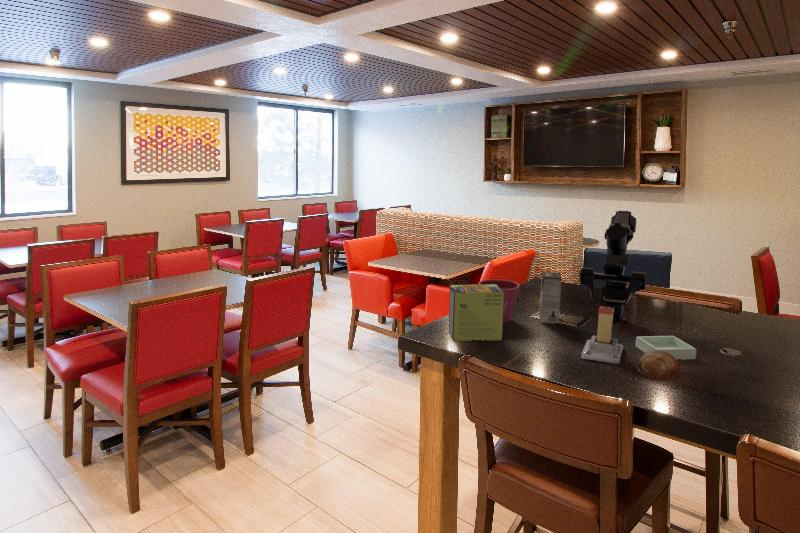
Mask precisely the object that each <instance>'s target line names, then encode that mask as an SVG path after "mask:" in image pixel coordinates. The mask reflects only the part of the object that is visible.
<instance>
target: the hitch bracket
mask: <svg viewBox="0 0 800 533" xmlns="http://www.w3.org/2000/svg"><path fill="white" fill-rule="evenodd" d="M618 340H619V339H618V338H614V337H611V344H605V343H598V342H597V335H591V338H590V339H586V342H585V344H584V347H583V349H582V351H581V357H580V359H582V360H591V361H596V362H603V363H609V364H617V365H620V362H621V358H622V357H621V356H622V353H623V348H624V344H621V343H618Z"/></svg>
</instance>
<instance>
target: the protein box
mask: <svg viewBox="0 0 800 533" xmlns="http://www.w3.org/2000/svg"><path fill="white" fill-rule="evenodd" d="M448 299H449V300H448V301H449V303H448V304H449V309H448V311H449V312H448V333H449V334H450V336H451V338H452V340H453V341H454V342H466V341H467V342H469V341H470V342H471V341H472V340H475V341H474V342H476V341H477V340H479V342H480V340H481V342H482V341H483V342H484V341H485V340H487V341H502V340H503V325H504V323H503V303H504V292H503V291H502V290H501V289H500V288H499V287H498V286H497V285H496V284H488V285H479V284H451V285H449V298H448ZM472 342H473V341H472Z"/></svg>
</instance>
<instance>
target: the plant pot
mask: <svg viewBox="0 0 800 533" xmlns="http://www.w3.org/2000/svg"><path fill="white" fill-rule="evenodd" d="M488 284H496V285H497V286H498V287H499V288H500V289H501V290H502V291H503V292H504V303H503V324H505V323H509V322H511V319H512V315H513V312H514V308H515V306H516V302H517V298H518V297H519V296H520V292H521V291H520V289H521V286H520V284H519V283H518V282H516V281H513V280H508V279H497V278H496V279H495V278H494V279H492V278H491V279H490V278H489V279H483V280H481V281H479V282H478V285H488Z"/></svg>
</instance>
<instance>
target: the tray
mask: <svg viewBox="0 0 800 533" xmlns="http://www.w3.org/2000/svg"><path fill="white" fill-rule="evenodd" d="M634 344H635V347H636V348H637V349H639V350H640V351H642V353H644V354H645V353H646V352H648V351H653V350H656V351H663V352H667V353H669V354H671V355H672V356H673V357H674V358H675V359H676V360H677V361H678V359H681V360H696V359H697V358H696V357H697V348H695V347H694V346H692V345H690V344H689V343H687V342H685V341H684V340H682V339H680V338H678V337H676V336H675V335H651V336H650V335H649V336H647V335H645V336H643V335H642V336H640V335H639V336H638V335H637V336H636V338H635V343H634Z"/></svg>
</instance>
